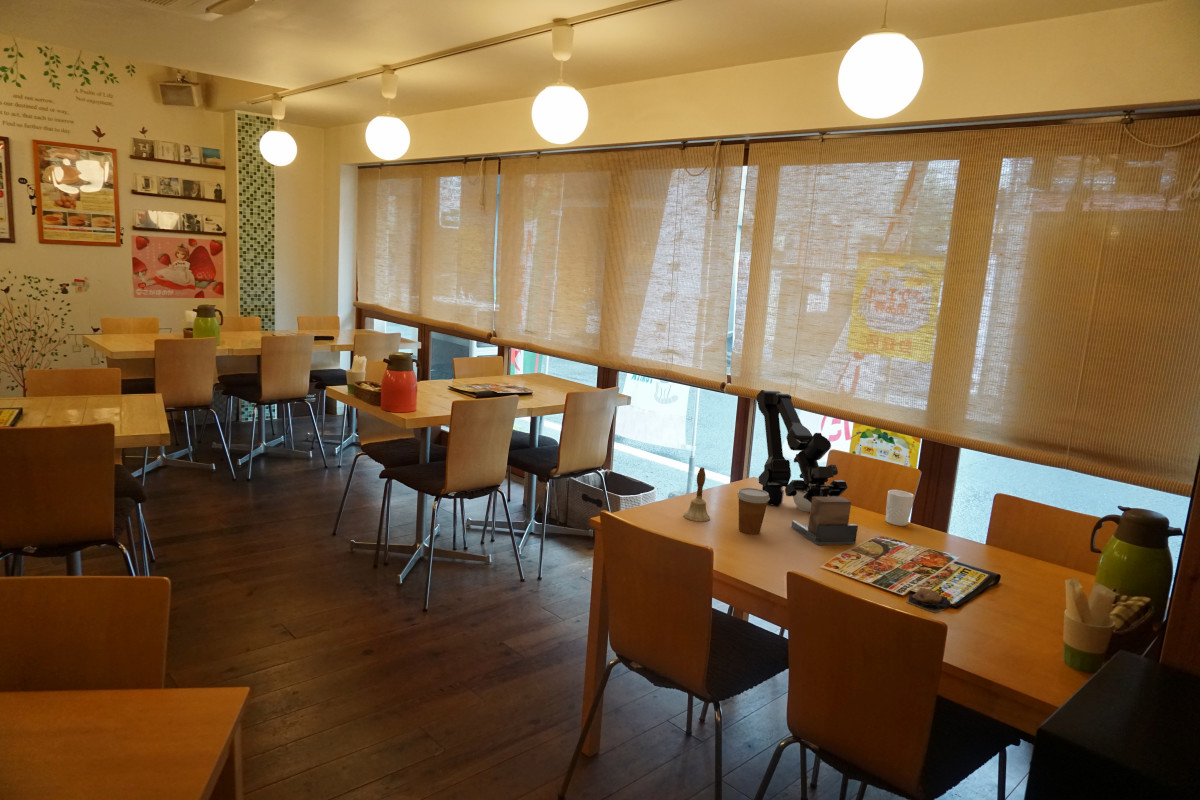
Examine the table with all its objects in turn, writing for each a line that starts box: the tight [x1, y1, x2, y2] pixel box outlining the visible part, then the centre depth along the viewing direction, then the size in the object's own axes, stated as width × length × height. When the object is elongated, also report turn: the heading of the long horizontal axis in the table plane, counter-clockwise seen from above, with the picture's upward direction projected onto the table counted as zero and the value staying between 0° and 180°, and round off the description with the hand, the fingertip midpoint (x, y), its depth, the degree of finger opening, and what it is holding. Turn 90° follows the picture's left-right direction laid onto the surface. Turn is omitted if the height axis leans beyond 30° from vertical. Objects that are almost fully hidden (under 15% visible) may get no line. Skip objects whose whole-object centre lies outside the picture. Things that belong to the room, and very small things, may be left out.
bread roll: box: [905, 588, 952, 614], centre depth 185 cm, size 11×8×4 cm
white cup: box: [885, 489, 915, 527], centre depth 249 cm, size 8×8×10 cm
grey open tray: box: [790, 520, 859, 546], centre depth 229 cm, size 15×13×6 cm
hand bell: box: [683, 467, 711, 523], centre depth 235 cm, size 8×8×16 cm
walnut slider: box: [807, 496, 852, 534], centre depth 226 cm, size 5×10×11 cm, turn 106°
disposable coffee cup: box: [737, 487, 770, 535], centre depth 227 cm, size 10×10×12 cm
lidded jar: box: [792, 491, 811, 513], centre depth 255 cm, size 11×11×9 cm
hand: (824, 513), depth 229 cm, fingers closed, pressing on walnut slider
